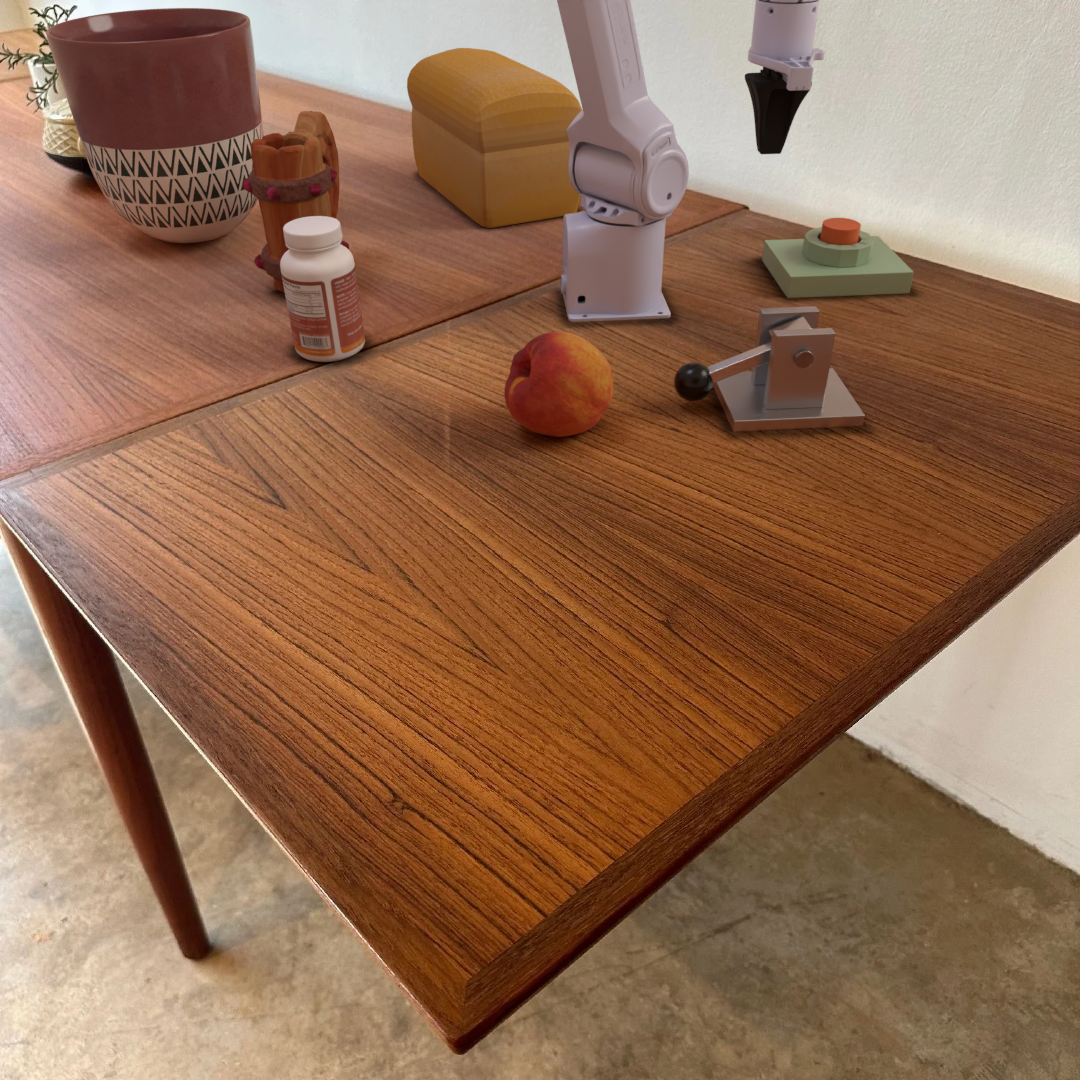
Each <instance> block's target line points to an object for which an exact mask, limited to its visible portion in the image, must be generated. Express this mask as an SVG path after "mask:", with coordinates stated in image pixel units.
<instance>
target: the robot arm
mask: <svg viewBox="0 0 1080 1080" xmlns="http://www.w3.org/2000/svg"><path fill="white" fill-rule="evenodd" d="M556 2H557V7H558V11H559V15H560V19H561V24H562V27H563V32H564V36H565V41H566V45H567V50H568V53H569V58H570V61H571V66H572V70H573V74H574V78H575V83H576V86H577V91H578V95H579V99H580V105H581V108H582V111H581V112H580V113H579V114H578V115H577V116H576V117H575V118H574V120H573V121H572V122H571V124H570V125H569V127H568V128H567V135H568V139H569V144H570V155H569V165H568V171H569V178H570V182H571V184H572V186H573V188H574V189H575V190H576V191H577V192H578V193H579V194H580V195H581V196H580V207H581V208H583V209H584V210H581V211H577V212H576V213H570V214H565V215H564V216H562V217H563V218H562V248H561V249H562V252H561V253H562V256H561V257H562V261H561V263H562V269H561V270H562V272H561V273H562V274H561V275H560V293H561V295H562V297H563V302H564V307H565V310H566V315H567V319H568V321H569V322H571V323H580V322H581V323H582V322H585V323H586V322H607V321H632V320H656V319H669V318H671V314H672V313H671V310H670V308H669V305H668V304H667V301H666V299H665V296H664V294H663V292H662V285H663V269H664V256H665V255H664V252H665V239H666V221H667V218H670V217H672V216H673V211H675V210H676V208H677V207H678V206H679V204H680V203H681V201H682V199H683V198H684V196H685V193H686V190H687V188H688V183H689V174H690V173H689V172H690V168H689V160H688V157H687V155H686V153H685V151H684V149H683V148H682V147H681V146H680V145H679V143H678V140H677V138H676V134H675V128H674V124H673V123H672V121H671V120H670V119H669V118H668V117H667V115H666V114H665V113H664V112H663V111H662V110H661V108H659V106H657V105H656V103H655V102H654V101H653V100H652V99H651V98H650V96H649V94H648V89H647V84H646V77H645V72H644V67H643V62H642V56H641V51H640V45H639V40H638V35H637V34H638V33H637V28H636V24H635V18H634V13H633V8H632V3H631V0H556ZM754 4H755V5H754V14H753V22H752V33H751V42H750V43H751V44H750V47H749V49H748V52H747V61H748V62H749V63H751V64H754V65H758V66H759V67H762V69H760V71H759V72H747V73H745V74H744V80H745V83H746V86H747V88H748V92H749V95H750V99H751V104H752V110H753V119H754V132H755V143H756V149H757V151H758V153H759V154H760V155H780V154H782V152H783V149H784V147H785V145H786V142H787V141H786V140H787V139H788V136H789V132H790V129H791V127H792V123H793V121H794V119H795V116H796V114H797V112H798V110H799V108H800V106H801V104H802V102H803V101H804V99H805V98H806V96H807V95H808V94H809V92H810V91H811V88H812V86H813V75H814V74H813V73H814V67H813V63H814V61H823V60H824V59H825V51H824V50H823V49H821V48H817V47H814V41H815V34H816V26H817V20H818V13H819V4H820V0H755V3H754Z"/></svg>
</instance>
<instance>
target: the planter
mask: <svg viewBox="0 0 1080 1080" xmlns="http://www.w3.org/2000/svg"><path fill="white" fill-rule="evenodd" d="M45 36H46V39H47V42H48V45H49V49H50V52H51V55H52V58H53V62H54V65H55V67H56V71H57V73H58V76H59V79H60V82H61V85H62V88H63V91H64V95H65V97H66V100H67V103H68V106H69V109H70V114H71V116H72V119H73V122H74V126H75V128H76V131H77V134H78V137H79V140H80V142H81V145H82V148H83V151H84V154H85V157H86V161H87V163H88V165H89V168H90V170H91V173H92V175H93V179H95V182H96V183H97V185H98V188H99V189H100V191H101V193H102V194H103V196H104V197H105V199H106V201H107V202H108V203H109V205H110V207H112V209H113V210H114V211H115V212H116V213H117V214H118V215H119V216H120V217H121V218H122V219H123V220H125V222H127V223H128V224H130V225H131V226H132V227H133V228H136V229H137V230H139V231H140V232H142V233H144V234H146V235H148V236H150V237H151V238H154V239H157V240H159V241H164V242H167V243H175V244H197V243H204V242H209V241H213V240H215V239H219V238H221V237H223V236H225V235H227V234H229V233H231V232H232V231H234V230H235V229H237V228H238V227H239V226H240V225H241V224H242V223H243V222H244V221H245V220H246V219H247V217H248V216H249V214H250V213H251V212H252V210H253V209H254V208H255V206H256V204H257V203H258V198H256V197H255V196H254V195H253V194H252V193H250V192H248V191H246V190H245V189H243V186H242V184H243V181H244V180H245V179H247V178H249V175H250V173H251V171H252V170H253V169H254V168H253V162H252V156H251V145H252V142H253V141H254V140H255V139H262V138H263V137H264V136H265V135H264V127H263V118H262V109H261V108H262V107H261V98H260V91H259V82H258V75H257V66H256V56H255V54H256V53H255V45H254V37H253V31H252V24H251V19H250V17H249V16H248V15H246V14H244V13H242V12H238V11H233V10H227V9H219V8H205V7H203V8H202V7H170V8H169V7H167V8H149V9H147V8H146V9H135V10H122V11H115V12H107V13H106V12H105V13H100V14H94V15H89V16H82V17H77V18H74V19H68V20H65V21H61V22H59V23H57V24H54V25H52V26H50V27H49V28H48V29H46V31H45Z"/></svg>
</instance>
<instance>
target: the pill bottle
mask: <svg viewBox="0 0 1080 1080" xmlns="http://www.w3.org/2000/svg"><path fill="white" fill-rule="evenodd" d="M283 232H284V239H285V243H286V247H287V248H289V250H288V251H286V252H285V253H284V255H283V256H282V258H281V261H280V268H281V275H282V280H283V286H284V291H285V293H284V296H285V302H286V308H287V312H288V313H287V314H288V319H289V325H290V330H291V335H292V341H293V346H294V349H295V352H296V353H297V354H298V355H299V356H300V357H301V358H303V359H304V360H308V361H312V362H319V363H331V362H332V363H333V362H337V361H342V360H345V359H348V358H350V357H352V356H355V355H356V354H358V353H359V352H360V351H361V350H362V349H363V348H364V346H365V342H366V336H365V327H364V321H363V313H362V307H361V306H362V305H361V300H360V291H359V285H358V278H357V271H356V264H355V259H354V258H355V257H354V256H353V253H352V252H351V250H350V249H349V250H348V249H347V248H346V247H345V246H343V245H341V244H340V243H341V241H343V231H342V225H341V222H340V220H338V219H335V218H332V217H326V216H310V217H303V218H298V219H295V220H292V221H290V222H288V223H287V224H285V225H284V227H283Z"/></svg>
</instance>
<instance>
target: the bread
mask: <svg viewBox="0 0 1080 1080" xmlns="http://www.w3.org/2000/svg"><path fill="white" fill-rule="evenodd" d="M406 88H407V95H408V98H409V101H410V104H411V107H412V108H411V136H412V149H413V156H414V161H415V166H416V169H417V172H418V175H419V177H420V178H421V180H423V181H425V183H427V184H428V185H429V186H430V187H431V188H433V189H435V190H436V191H437V192H438V193H439V194H440V195H441V196H443V197H444V198H445V199H446V200H447V201H449V202H450V203H451V204H452V205H453V206H455V207H456V208H457V209H458V210H459V211H461V212H462V213H463V214H464V215H466V216H467V217H468V218H470V219H471V220H472V221H473V222H475V223H476V224H478V225H479V226H481V227H483V228H486V229H487V228H488V229H494V228H500V227H506V226H512V225H517V224H524V223H530V222H537V221H541V220H543V221H544V220H548V219H554V218H561V217H564V215H565V214H570V213H577V212H578V209H579V205H580V202H581V195H580V194H579V193H578V192H577V191H576V190H575V189H574V188H573V186H572V184H571V182H570V178H569V171H568V165H569V155H570V144H569V139H568V135H567V128H568V127H569V125H570V124H571V122H572V121H573V120H574V118H575V117H576V116H577V115H578V114H579V113H580V112H581V111H582V110H583V109H582V104H581V102H580V101H579V99H578V98H577V96H576V95H575V93H574V92H572V91H571V90H570V89H569V88H568V87H567V86H565V85H564V84H562V83H561V82H560V81H558V80H557V79H555V78H553V77H550V76H548V75H546V74H544V73H542V72H540V71H538V70H537V69H536V70H535V69H534V68H532V67H529V66H527V65H525V64H523V63H520V62H519V61H516V60H514V59H512V58H510V57H507V56H506V55H503V54H501V53H498V52H496V51H494V50H488V49H482V48H473V47H456V48H452V49H448V50H444V51H440V52H438V53H435V54H431V55H429V56H426V57H424V58H422V59H420V60H419V61H417V63H416V64H415V65H413V67H412V68H411V70H410V71H409V73H408V76H407V79H406Z"/></svg>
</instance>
